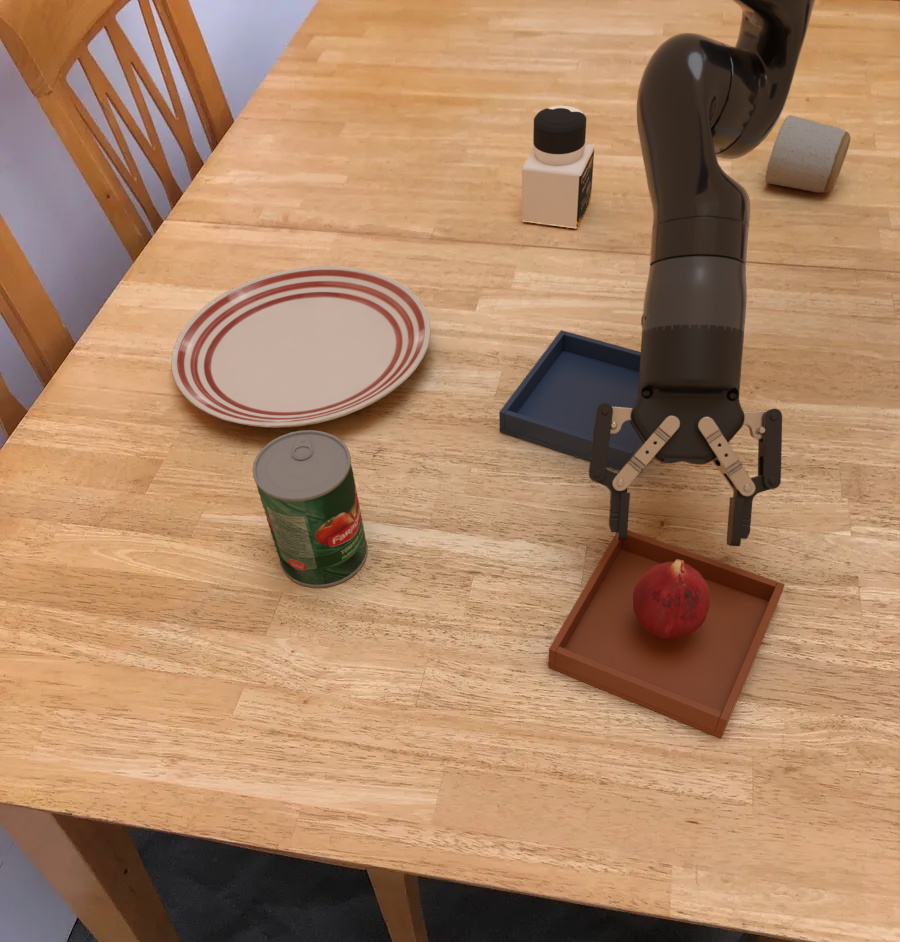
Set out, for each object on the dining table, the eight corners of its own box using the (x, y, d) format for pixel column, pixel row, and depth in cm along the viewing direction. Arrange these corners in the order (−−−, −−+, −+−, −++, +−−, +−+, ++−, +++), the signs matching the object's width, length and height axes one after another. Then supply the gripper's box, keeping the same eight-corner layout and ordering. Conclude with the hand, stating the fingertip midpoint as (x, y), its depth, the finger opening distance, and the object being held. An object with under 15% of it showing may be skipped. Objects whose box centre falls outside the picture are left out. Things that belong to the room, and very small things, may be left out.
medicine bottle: (577, 231, 112) (583, 130, 103) (521, 223, 114) (521, 124, 104) (591, 200, 116) (598, 101, 107) (536, 194, 118) (538, 96, 108)
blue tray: (688, 386, 93) (692, 365, 91) (635, 476, 86) (638, 455, 84) (560, 350, 98) (560, 329, 96) (499, 432, 91) (499, 411, 89)
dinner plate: (127, 416, 95) (116, 390, 93) (256, 271, 111) (250, 245, 108) (368, 475, 88) (363, 449, 85) (470, 310, 103) (468, 284, 101)
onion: (714, 647, 73) (733, 584, 67) (646, 666, 72) (659, 604, 66) (682, 593, 77) (697, 527, 70) (617, 610, 76) (626, 546, 69)
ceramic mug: (827, 206, 112) (845, 142, 106) (760, 193, 115) (774, 130, 109) (845, 166, 118) (864, 103, 112) (781, 155, 121) (795, 93, 115)
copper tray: (777, 603, 76) (785, 583, 74) (721, 738, 69) (727, 721, 67) (616, 546, 81) (619, 526, 79) (547, 667, 73) (548, 648, 71)
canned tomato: (368, 583, 80) (351, 493, 71) (278, 592, 80) (249, 503, 71) (366, 516, 85) (350, 425, 76) (281, 525, 85) (254, 434, 76)
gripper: (599, 318, 67) (586, 541, 69) (802, 322, 65) (782, 550, 67) (595, 334, 74) (584, 536, 76) (778, 338, 73) (761, 544, 75)
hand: (677, 542), depth 72 cm, fingers open, 8 cm apart
